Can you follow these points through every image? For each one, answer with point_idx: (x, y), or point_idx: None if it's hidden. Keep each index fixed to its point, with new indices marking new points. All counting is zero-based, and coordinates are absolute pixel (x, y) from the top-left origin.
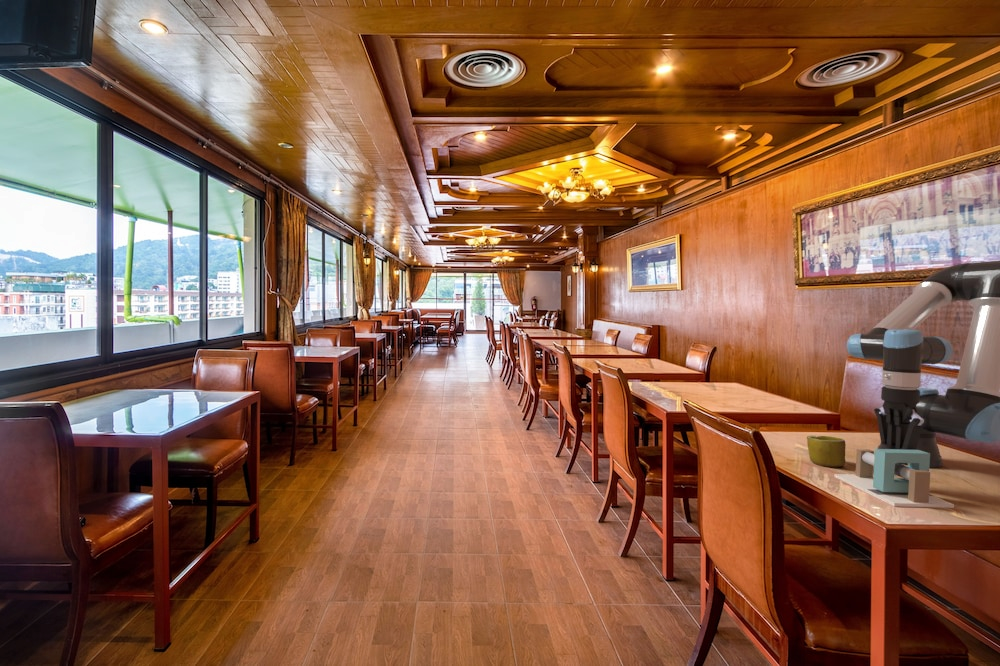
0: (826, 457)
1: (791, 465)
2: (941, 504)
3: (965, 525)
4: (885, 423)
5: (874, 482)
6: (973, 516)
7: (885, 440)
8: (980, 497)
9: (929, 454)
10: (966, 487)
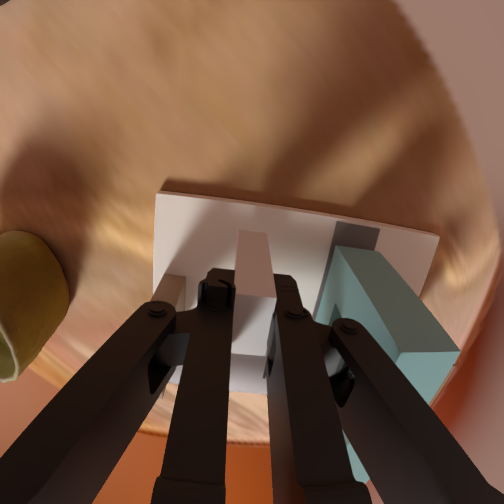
0: (51, 334)
1: None
2: (426, 274)
3: (480, 314)
4: (94, 467)
5: None
6: (473, 241)
7: (169, 375)
8: (383, 20)
9: (456, 350)
10: None
